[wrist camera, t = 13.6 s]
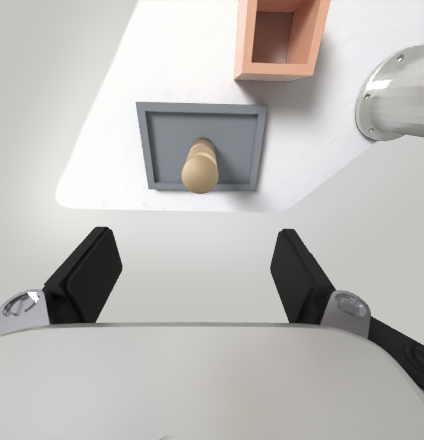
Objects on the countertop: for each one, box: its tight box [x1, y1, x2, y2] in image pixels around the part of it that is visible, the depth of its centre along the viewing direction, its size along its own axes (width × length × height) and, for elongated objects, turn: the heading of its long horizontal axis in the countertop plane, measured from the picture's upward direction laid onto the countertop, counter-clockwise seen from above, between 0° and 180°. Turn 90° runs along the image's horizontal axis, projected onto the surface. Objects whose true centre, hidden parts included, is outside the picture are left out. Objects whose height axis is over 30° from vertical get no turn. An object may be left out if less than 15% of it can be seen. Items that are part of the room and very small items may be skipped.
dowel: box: [182, 137, 218, 194], centre depth 28 cm, size 4×4×15 cm
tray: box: [136, 102, 267, 191], centre depth 34 cm, size 20×14×2 cm
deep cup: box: [234, 0, 330, 81], centre depth 24 cm, size 8×8×8 cm
